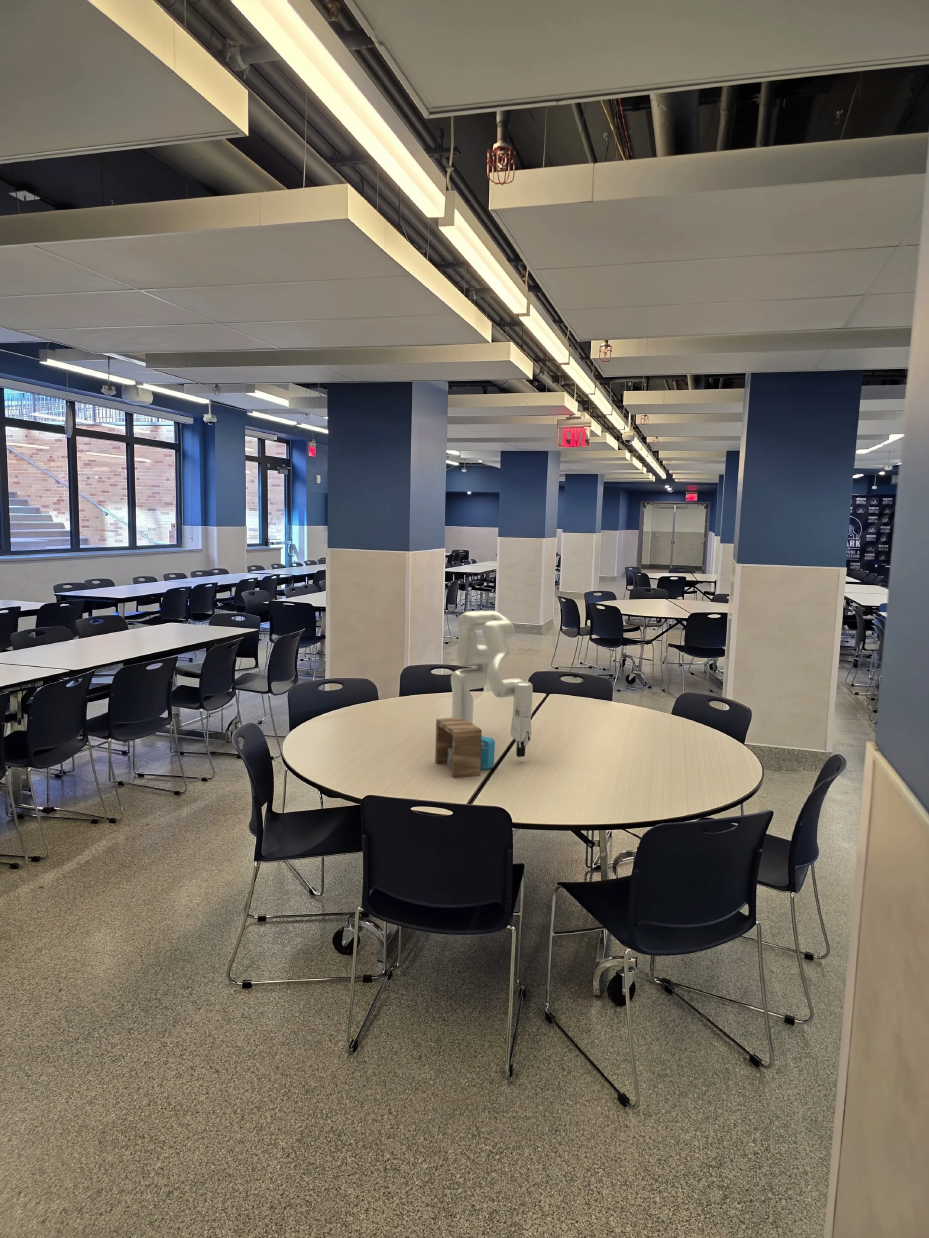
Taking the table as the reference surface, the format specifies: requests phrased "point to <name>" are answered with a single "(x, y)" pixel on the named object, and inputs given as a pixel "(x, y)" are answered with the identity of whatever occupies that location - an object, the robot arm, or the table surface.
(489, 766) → the data package
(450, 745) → the overhang shelf
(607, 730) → the table surface
